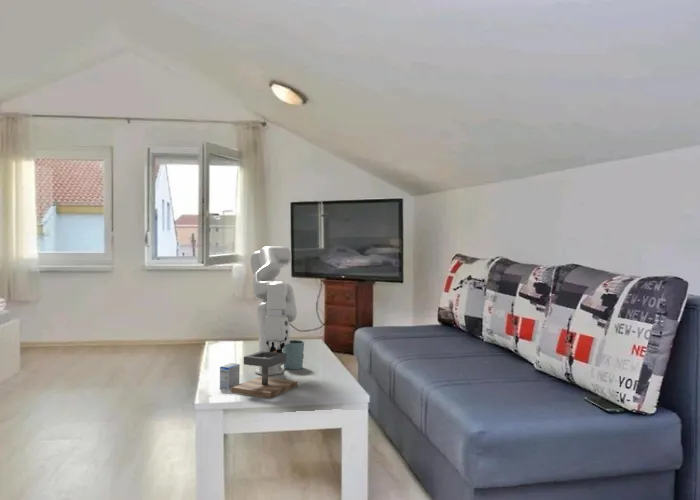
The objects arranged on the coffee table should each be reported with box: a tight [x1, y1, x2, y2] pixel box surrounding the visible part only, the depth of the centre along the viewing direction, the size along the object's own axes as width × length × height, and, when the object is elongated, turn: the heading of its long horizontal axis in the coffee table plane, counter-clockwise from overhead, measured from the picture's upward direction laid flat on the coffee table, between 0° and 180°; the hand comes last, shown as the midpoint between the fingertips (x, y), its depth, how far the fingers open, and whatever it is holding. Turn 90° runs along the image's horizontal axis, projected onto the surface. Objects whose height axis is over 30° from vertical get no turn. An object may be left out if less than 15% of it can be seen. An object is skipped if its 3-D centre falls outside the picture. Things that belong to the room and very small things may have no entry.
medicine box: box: [219, 362, 241, 390], centre depth 237 cm, size 8×4×9 cm, turn 159°
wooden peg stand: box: [230, 357, 299, 399], centre depth 233 cm, size 20×18×13 cm
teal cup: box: [282, 339, 305, 370], centre depth 272 cm, size 10×10×12 cm
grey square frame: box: [243, 351, 286, 367], centre depth 234 cm, size 16×12×3 cm
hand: (276, 357), depth 239 cm, fingers closed on grey square frame, 2 cm apart
